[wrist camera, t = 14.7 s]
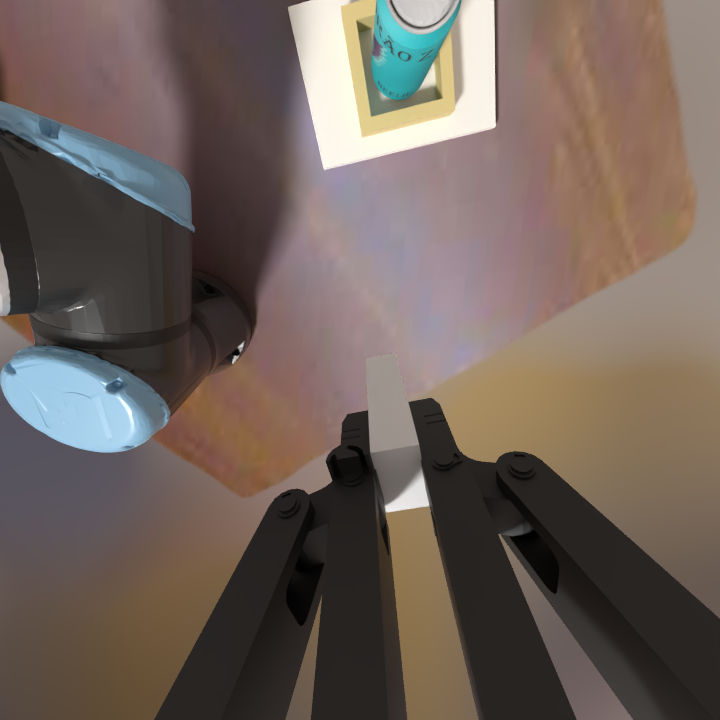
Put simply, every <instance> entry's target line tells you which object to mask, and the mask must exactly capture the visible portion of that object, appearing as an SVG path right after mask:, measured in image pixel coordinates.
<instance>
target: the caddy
mask: <svg viewBox="0 0 720 720" xmlns="http://www.w3.org/2000/svg"><path fill="white" fill-rule="evenodd" d="M375 10H376V0H310V1H306V2H303V3H300V4H296V5H293V6H290V7H288V11H289V15H290V20H291V24H292V29H293V33H294V38H295V42H296V47H297V51H298V56H299V60H300V65H301V69H302V74H303V78H304V83H305V87H306V92H307V96H308V101H309V105H310V110H311V114H312V119H313V123H314V128H315V132H316V137H317V141H318V146H319V150H320V155H321V159H322V164H323V168H324V170H327V169H331V168H335V167H339V166H343V165H347V164H351V163H355V162H360V161H364V160H368V159H372V158H376V157H380V156H384V155H388V154H392V153H396V152H400V151H404V150H408V149H412V148H416V147H421V146H425V145H429V144H433V143H437V142H441V141H445V140H449V139H453V138H457V137H461V136H465V135H469V134H473V133H478V132H482V131H486V130H490V129H493V128H495V127H496V117H495V32H494V0H462V2H461V6H460V9H459V12H458V15H457V17H456V19H455V21H454V23H453V25H452V27H451V29H450V31H449V33H448V35H447V37H446V39H445V41H444V43H443V44H442V46H441V48H440V50H439V52H438V54H437V56H436V58H435V60H434V62H433V64H432V66H431V68H430V70H429V71H428V73H427V75H426V77H425V79H424V81H423V83H422V85H421V86H420V88H419V89H418V90H417V91H416V92H415V93H414V94H413V95H412V96H410V97H408V98H406V99H402V100H394V99H390V98H388V97H386V96H385V95H383V94H382V93H381V92H380V90H379V89H378V88H377V86H376V84H375V82H374V79H373V76H372V71H371V56H372V44H373V33H374V21H375Z"/></svg>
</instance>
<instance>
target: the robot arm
mask: <svg viewBox="0 0 720 720" xmlns="http://www.w3.org/2000/svg"><path fill="white" fill-rule="evenodd" d="M192 232H193V233H195V227H194V226H193V225H192V211H191V192H190V188H189V185H188V183H187V181H186V180H185V178H184V177H183V176H182V175H181V173H179V172H178V171H177V170H176V169H174V168H173V167H171V166H169V165H167V164H165V163H163V162H161V161H158V160H156V159H154V158H151V157H149V156H147V155H144V154H142V153H139V152H137V151H134V150H132V149H129V148H127V147H124V146H122V145H119V144H117V143H114V142H112V141H109V140H106V139H104V138H101V137H98V136H96V135H93V134H91V133H88V132H85V131H83V130H80V129H77V128H74V127H72V126H69V125H66V124H61V123H59V122H57V121H55V120H52V119H49V118H46V117H43V116H41V115H38V114H35V113H33V112H31V111H28V110H26V109H23V108H20V107H17V106H14V105H11V104H8V103H5V102H2V101H0V316H5V315H16V314H29V318H30V322H31V327H32V331H33V335H34V340H35V344H34V346H30V347H27V348H24V349H22V350H19V351H18V352H17V353H16V354H15V355H14V357H13V358H12V359H11V361H10V362H8V363H7V364H5V366H4V367H3V369H2V371H1V376H0V377H1V378H0V379H1V387H2V390H3V393H4V395H5V397H6V399H7V400H8V402H9V404H10V405H11V406H12V408H14V410H15V411H16V412H17V413H18V414H19V415H20V416H21V417H22V418H23V419H24V420H25V421H27V422H28V423H29V424H31V425H32V426H33V427H34V428H36V429H38V430H39V431H41V432H44V433H45V434H46V435H48V436H50V437H51V438H53V439H55V440H58V441H60V442H62V443H65V444H67V445H70V446H73V447H76V448H81V449H84V450H90V451H96V452H120V451H125V450H129V449H132V448H135V447H136V446H139V445H140V444H142V443H144V442H146V441H147V440H148V439H149V438H150V437H152V436H153V435H154V434H155V433H156V432H157V431H158V430H159V429H161V428H163V427H164V426H165V425H166V424H167V423H168V422H169V419H170V417H171V416H172V415H173V414H174V413H175V411H176V410H177V409H178V408H179V407H180V406H181V405H182V404H183V402H184V401H185V400H186V399H187V398H188V397H189V396H190V395H191V393H192V392H193V391H194V390H195V389H196V388H197V387H198V386H199V384H200V383H201V382H202V381H203V380H204V379H205V378H206V377H207V376H209V375H212V374H215V373H217V372H220V371H222V370H225V369H227V368H229V367H230V366H231V365H233V364H234V363H235V362H236V361H237V360H238V359H239V358H240V357H241V356H242V354H243V353H244V352H245V350H246V349H247V347H248V345H249V342H250V338H251V321H250V317H249V314H248V311H247V309H246V307H245V305H244V303H243V302H242V300H241V299H240V297H239V296H238V295H237V294H236V293H235V291H234V290H233V289H232V288H230V287H229V286H228V285H227V284H225V283H224V282H223V281H221V280H219V279H218V278H216V277H214V276H211V275H209V274H206V273H203V272H199V271H192ZM366 376H367V397H368V411H362V412H357V413H351V414H347V416H346V418H345V419H344V421H343V422H342V433H341V445H339V446H338V447H336V448H335V449H333V450H332V451H331V452H330V454H329V455H328V457H327V459H326V464H327V467H328V469H329V472H330V475H331V478H332V480H333V481H332V482H331V483H330V484H328V485H327V486H326V487H324V488H323V489H321V490H318V491H316V492H314V493H312V494H310V495H308V494H307V493H306V492H305V491H304V490H300V489H291V490H288V491H286V492H283V493H281V494H280V495H279V496H278V497H277V498H275V499H274V501H273V502H272V503H271V505H270V506H269V508H268V510H267V512H266V513H265V515H264V517H263V519H262V521H261V523H260V525H259V527H258V528H257V530H256V532H255V534H254V536H253V538H252V540H251V541H250V543H249V545H248V547H247V549H246V551H245V552H244V554H243V556H242V558H241V560H240V562H239V564H238V565H237V567H236V569H235V571H234V573H233V575H232V576H231V578H230V580H229V582H228V584H227V586H226V588H225V590H224V592H223V593H222V595H221V597H220V599H219V601H218V603H217V604H216V606H215V608H214V610H213V612H212V614H211V615H210V617H209V619H208V621H207V623H206V625H205V627H204V628H203V631H202V633H201V634H200V636H199V638H198V640H197V641H196V643H195V645H194V647H193V649H192V651H191V653H190V655H189V656H188V658H187V660H186V662H185V664H184V666H183V667H182V669H181V671H180V673H179V675H178V677H177V679H176V680H175V682H174V684H173V686H172V688H171V690H170V692H169V693H168V695H167V697H166V699H165V701H164V703H163V705H162V706H161V708H160V710H159V712H158V714H157V716H156V717H155V719H154V720H285V719H286V715H287V712H288V709H289V705H290V702H291V698H292V695H293V692H294V688H295V685H296V681H297V678H298V674H299V671H300V668H301V664H302V661H303V657H304V654H305V651H306V647H307V644H308V640H309V637H310V634H311V630H312V627H313V623H314V620H315V616H316V613H317V609H318V606H319V603H320V600H321V596H322V604H321V615H320V627H319V637H318V648H317V658H316V670H315V681H314V692H313V703H312V714H311V720H407V712H406V702H405V692H404V682H403V672H402V661H401V650H400V640H399V630H398V620H397V610H396V599H395V589H394V580H393V579H394V578H393V568H392V558H391V548H390V537H389V528H388V524H387V520H386V516H385V515H386V514H385V509H386V512H392V511H399V510H404V509H412V508H417V507H424V506H430V510H431V516H432V521H433V526H434V532H435V536H436V538H437V542H438V546H439V551H440V556H441V560H442V564H443V568H444V573H445V577H446V581H447V586H448V590H449V594H450V598H451V603H452V607H453V611H454V615H455V620H456V624H457V628H458V633H459V637H460V642H461V646H462V650H463V654H464V659H465V663H466V667H467V671H468V676H469V680H470V685H471V689H472V693H473V697H474V702H475V706H476V710H477V715H478V719H479V720H576V717H575V715H574V712H573V710H572V708H571V706H570V703H569V701H568V698H567V696H566V694H565V691H564V689H563V686H562V684H561V682H560V680H559V677H558V675H557V672H556V670H555V668H554V665H553V663H552V661H551V658H550V656H549V653H548V651H547V649H546V646H545V644H544V642H543V639H542V637H541V635H540V632H539V630H538V627H537V625H536V623H535V620H534V618H533V616H532V613H531V611H530V609H529V606H528V604H527V601H526V599H525V597H524V595H523V592H522V590H521V587H520V585H519V583H518V580H517V578H516V576H515V573H514V571H513V568H512V566H511V564H510V561H509V559H508V557H507V554H506V552H505V549H504V547H503V545H502V542H501V540H500V538H499V535H498V534H501V536H502V538H503V539H504V540H505V542H506V543H507V545H508V546H509V547H510V549H511V550H512V551H513V553H514V554H515V556H516V557H517V559H518V560H519V561H520V563H521V564H522V565H523V567H524V568H525V570H526V571H527V572H528V574H529V575H530V577H531V578H532V579H533V581H534V582H535V584H536V585H537V586H538V588H539V589H540V590H541V592H542V593H543V594H544V596H545V597H546V599H547V600H548V601H549V603H550V604H551V606H552V607H553V608H554V610H555V611H556V613H557V614H558V616H559V617H560V618H561V620H562V621H563V622H564V624H565V625H566V627H567V628H568V629H569V631H570V632H571V634H572V635H573V636H574V638H575V639H576V641H577V642H578V643H579V645H580V646H581V648H582V649H583V650H584V652H585V653H586V654H587V656H588V657H589V659H590V660H591V661H592V663H593V664H594V666H595V667H596V668H597V670H598V671H599V673H600V674H601V675H602V677H603V678H604V680H605V681H606V682H607V684H608V685H609V686H610V688H611V689H612V691H613V692H614V693H615V695H616V696H617V697H618V699H619V700H620V702H621V703H622V705H623V706H624V707H625V709H626V710H627V711H628V713H629V714H630V716H631V717H632V718H633V720H720V619H719V618H718V617H717V616H716V615H715V614H714V613H713V612H712V611H710V610H709V609H708V608H707V607H706V606H705V605H704V604H703V603H701V602H700V601H699V600H698V599H697V598H696V597H695V596H694V595H692V594H691V593H690V592H689V591H688V590H687V589H686V588H685V587H683V586H682V585H681V584H680V583H679V582H678V581H677V580H676V579H674V578H673V577H672V576H671V575H670V574H669V573H668V572H667V571H665V570H664V569H663V568H662V567H661V566H660V565H659V564H658V563H656V562H655V561H654V560H653V559H652V558H651V557H650V556H649V555H647V554H646V553H645V552H644V551H643V550H642V549H641V548H639V546H637V545H636V544H635V543H634V542H633V541H632V540H631V539H630V538H628V537H627V536H626V535H624V533H623V532H622V531H621V530H619V529H618V528H617V527H616V526H615V525H614V524H613V523H612V522H610V521H609V520H608V519H607V518H606V517H605V516H604V515H603V514H601V513H600V512H599V511H598V510H597V509H596V508H595V507H594V506H592V505H591V504H590V503H589V502H588V501H587V500H586V499H585V498H583V497H582V496H581V495H580V494H579V493H578V492H577V491H576V490H574V489H573V488H572V487H571V486H570V485H569V484H568V483H566V482H565V481H564V480H563V479H562V478H561V477H560V476H559V475H557V474H556V473H555V472H554V471H553V470H552V469H551V468H550V467H549V466H547V465H546V464H545V463H544V462H543V461H542V460H540V459H538V458H537V457H536V456H534V455H531V454H528V453H525V452H516V451H514V452H509V453H505V454H503V455H502V456H500V457H499V458H498V460H497V462H496V463H491V462H481V461H476V460H473V459H470V458H468V457H467V456H465V455H463V454H462V452H460V451H459V449H458V447H457V445H456V443H455V440H454V438H453V435H452V433H451V431H450V428H449V426H448V423H447V421H446V418H445V416H444V414H443V411H442V409H441V406H440V404H439V403H438V402H436V401H435V400H434V399H432V398H428V399H423V400H417V401H411V402H408V399H407V395H406V391H405V387H404V383H403V379H402V376H401V372H400V368H399V364H398V360H397V356H396V352H394V353H389V354H384V355H379V356H374V357H369V358H366Z"/></svg>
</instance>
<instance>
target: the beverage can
mask: <svg viewBox="0 0 720 720" xmlns="http://www.w3.org/2000/svg"><path fill="white" fill-rule="evenodd" d="M461 2H462V0H376V10H375V21H374V33H373V44H372V56H371V71H372V76H373V79H374V82H375V84H376V86H377V88H378V89H379V90H380V92H381V93H382V94H383V95H385V96H386V97H388V98H390V99H394V100H402V99H406V98H408V97H410V96H412V95H413V94H414V93H415V92H416V91H417V90H418V89H419V88H420V86H421V85H422V83H423V81H424V79H425V77H426V75H427V73H428V71H429V70H430V68H431V66H432V64H433V62H434V60H435V58H436V56H437V54H438V52H439V50H440V48H441V46H442V44H443V43H444V41H445V39H446V37H447V35H448V33H449V31H450V29H451V27H452V25H453V23H454V21H455V19H456V17H457V15H458V12H459V9H460V6H461Z"/></svg>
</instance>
